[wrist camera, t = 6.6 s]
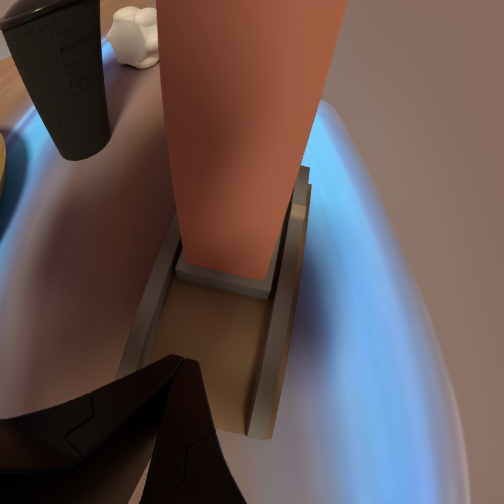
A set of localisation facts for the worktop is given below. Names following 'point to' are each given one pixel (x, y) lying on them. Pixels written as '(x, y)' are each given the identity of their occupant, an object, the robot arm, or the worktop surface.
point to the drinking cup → (62, 69)
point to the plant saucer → (2, 164)
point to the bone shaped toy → (135, 37)
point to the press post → (239, 126)
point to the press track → (226, 327)
